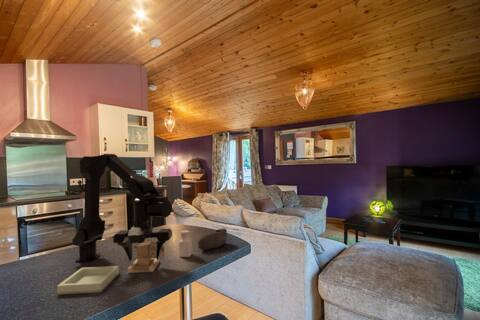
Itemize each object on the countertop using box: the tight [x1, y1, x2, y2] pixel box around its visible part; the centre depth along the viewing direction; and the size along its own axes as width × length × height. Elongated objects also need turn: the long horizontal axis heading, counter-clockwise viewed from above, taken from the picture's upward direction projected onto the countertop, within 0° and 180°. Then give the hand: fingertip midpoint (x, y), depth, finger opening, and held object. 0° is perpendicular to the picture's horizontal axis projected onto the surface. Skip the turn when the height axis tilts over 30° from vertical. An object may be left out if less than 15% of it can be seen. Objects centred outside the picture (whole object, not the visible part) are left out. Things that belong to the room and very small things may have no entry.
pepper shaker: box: [178, 229, 193, 258], centre depth 97 cm, size 4×4×10 cm
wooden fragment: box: [132, 240, 165, 259], centre depth 105 cm, size 26×11×1 cm, turn 33°
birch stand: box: [127, 257, 160, 274], centre depth 88 cm, size 8×8×2 cm
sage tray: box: [56, 265, 120, 296], centre depth 77 cm, size 12×12×2 cm
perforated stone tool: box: [197, 227, 228, 251], centre depth 106 cm, size 15×5×7 cm, turn 131°
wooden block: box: [136, 243, 152, 266], centre depth 88 cm, size 4×4×8 cm
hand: (144, 260), depth 88 cm, fingers open, 9 cm apart
